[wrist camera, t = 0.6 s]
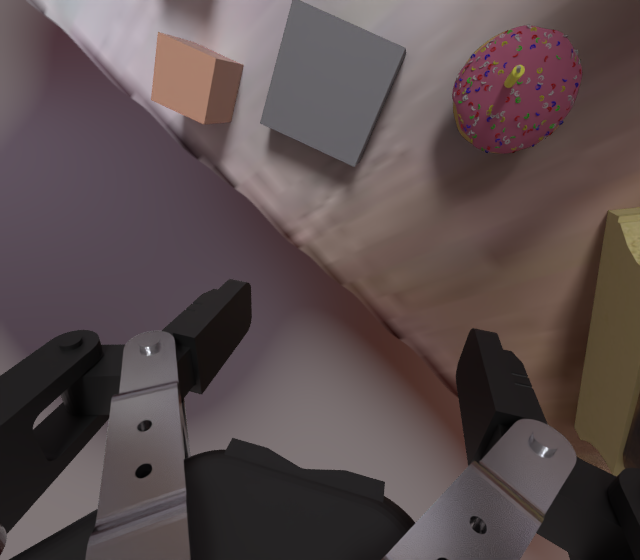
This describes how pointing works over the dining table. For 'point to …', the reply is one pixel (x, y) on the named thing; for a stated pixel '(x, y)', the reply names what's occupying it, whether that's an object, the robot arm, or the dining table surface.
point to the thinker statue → (614, 349)
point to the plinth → (330, 82)
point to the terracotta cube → (195, 80)
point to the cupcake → (516, 89)
